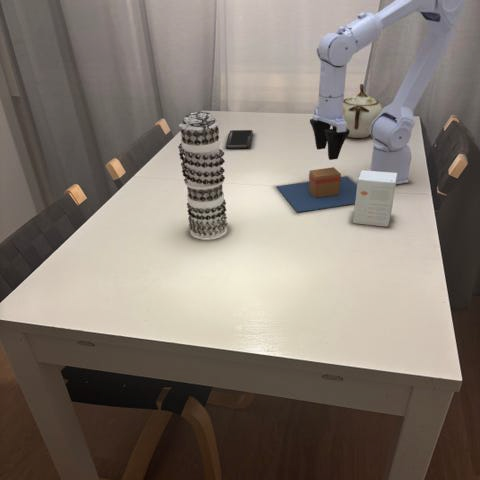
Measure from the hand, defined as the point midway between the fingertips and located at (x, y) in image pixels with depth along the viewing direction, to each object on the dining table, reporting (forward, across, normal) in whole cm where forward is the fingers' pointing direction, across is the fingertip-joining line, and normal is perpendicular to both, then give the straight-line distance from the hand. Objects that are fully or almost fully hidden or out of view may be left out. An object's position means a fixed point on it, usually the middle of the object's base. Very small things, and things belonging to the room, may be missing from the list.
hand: (326, 153), depth 117 cm
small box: (+10, +19, +4) cm, 22 cm away
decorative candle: (+9, +12, -33) cm, 37 cm away
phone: (+9, -45, -11) cm, 47 cm away
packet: (+9, +2, -1) cm, 9 cm away
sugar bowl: (+10, -37, +27) cm, 47 cm away
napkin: (+9, +2, -1) cm, 10 cm away
